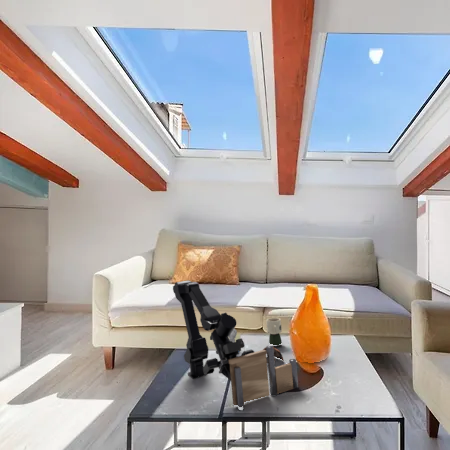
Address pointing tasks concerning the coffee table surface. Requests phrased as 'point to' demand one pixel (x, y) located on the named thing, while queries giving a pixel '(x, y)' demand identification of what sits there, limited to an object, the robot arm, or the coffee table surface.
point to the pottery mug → (275, 354)
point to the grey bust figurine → (233, 335)
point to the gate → (251, 375)
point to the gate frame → (272, 377)
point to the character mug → (274, 330)
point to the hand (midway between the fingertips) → (239, 384)
